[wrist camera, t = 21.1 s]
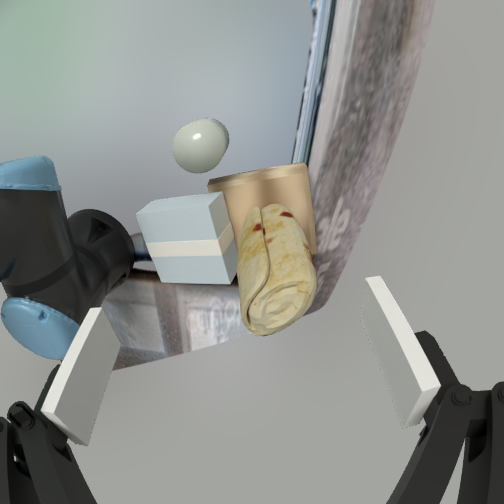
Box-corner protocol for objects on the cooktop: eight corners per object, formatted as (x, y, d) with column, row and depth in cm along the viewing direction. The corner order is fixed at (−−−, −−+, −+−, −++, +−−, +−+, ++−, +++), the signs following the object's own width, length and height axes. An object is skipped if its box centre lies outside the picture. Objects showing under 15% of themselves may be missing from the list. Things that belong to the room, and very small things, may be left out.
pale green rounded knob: (215, 168, 44) (207, 182, 38) (177, 147, 42) (163, 158, 36) (237, 131, 41) (233, 138, 35) (198, 110, 39) (187, 113, 33)
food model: (260, 256, 48) (271, 356, 31) (225, 232, 46) (217, 327, 28) (304, 211, 44) (342, 296, 27) (269, 182, 42) (289, 257, 25)
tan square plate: (230, 259, 52) (229, 269, 49) (209, 179, 45) (207, 185, 42) (313, 244, 51) (317, 253, 48) (303, 162, 44) (307, 167, 41)
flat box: (175, 264, 52) (161, 282, 48) (152, 200, 46) (134, 214, 42) (241, 264, 48) (230, 284, 44) (222, 191, 42) (208, 206, 38)
